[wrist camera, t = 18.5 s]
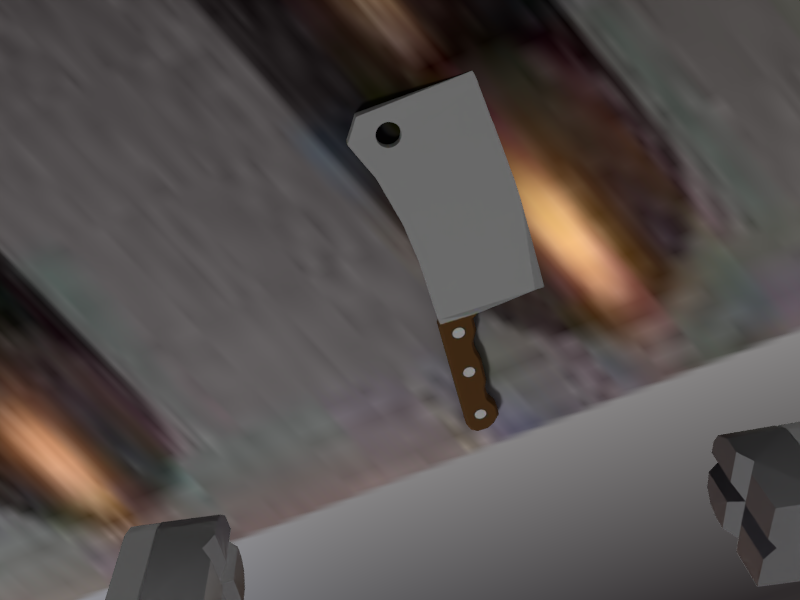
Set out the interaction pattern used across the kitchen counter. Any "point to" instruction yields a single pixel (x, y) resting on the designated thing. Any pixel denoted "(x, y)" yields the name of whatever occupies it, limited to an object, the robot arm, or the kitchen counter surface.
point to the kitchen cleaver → (454, 215)
